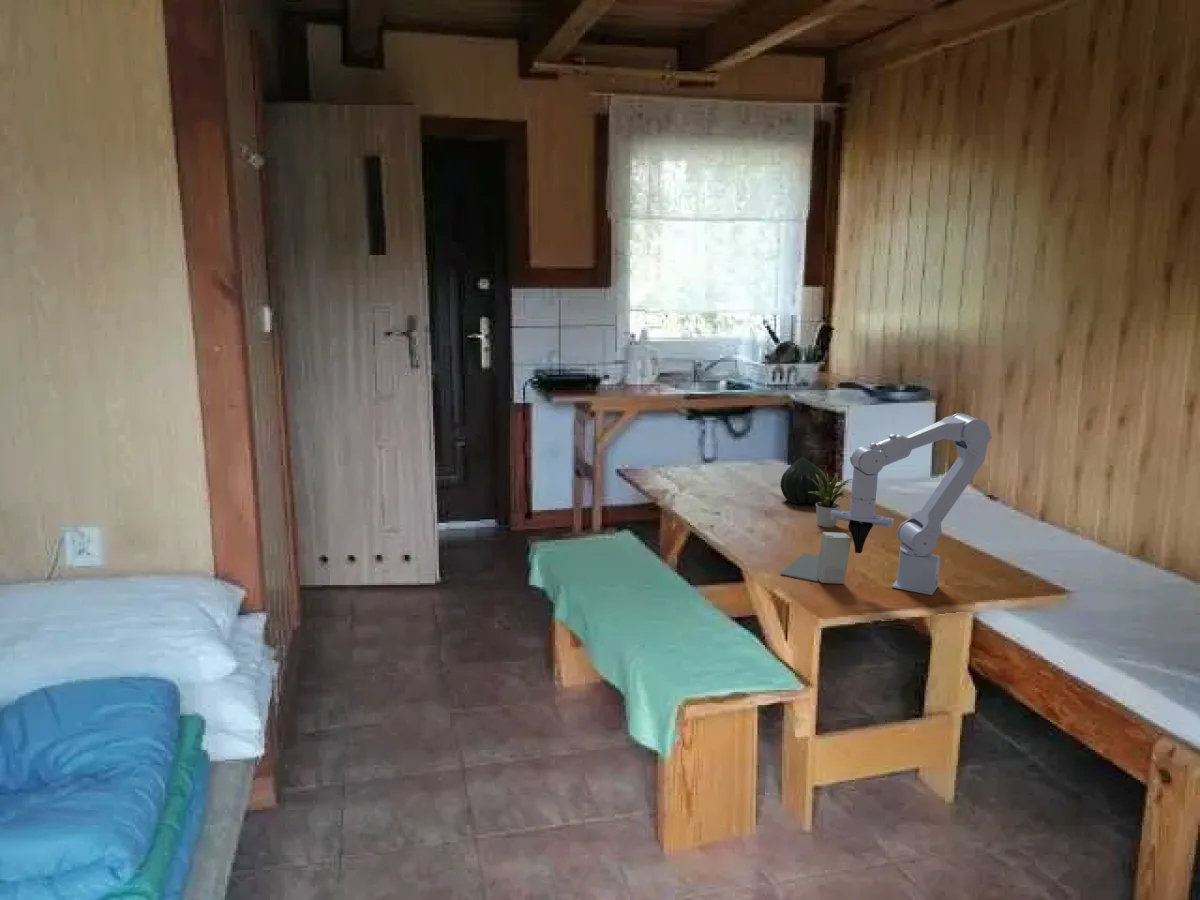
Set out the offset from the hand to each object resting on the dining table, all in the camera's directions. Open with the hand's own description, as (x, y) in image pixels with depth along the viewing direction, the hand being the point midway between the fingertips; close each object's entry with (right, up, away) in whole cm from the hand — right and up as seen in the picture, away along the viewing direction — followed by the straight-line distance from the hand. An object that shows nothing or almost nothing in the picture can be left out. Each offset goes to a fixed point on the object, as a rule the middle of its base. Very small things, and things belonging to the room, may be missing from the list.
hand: (858, 551), depth 224 cm
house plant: (+6, +2, +53) cm, 53 cm away
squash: (+4, +7, +79) cm, 80 cm away
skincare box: (-6, -8, +5) cm, 11 cm away
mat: (-8, -6, +15) cm, 18 cm away
